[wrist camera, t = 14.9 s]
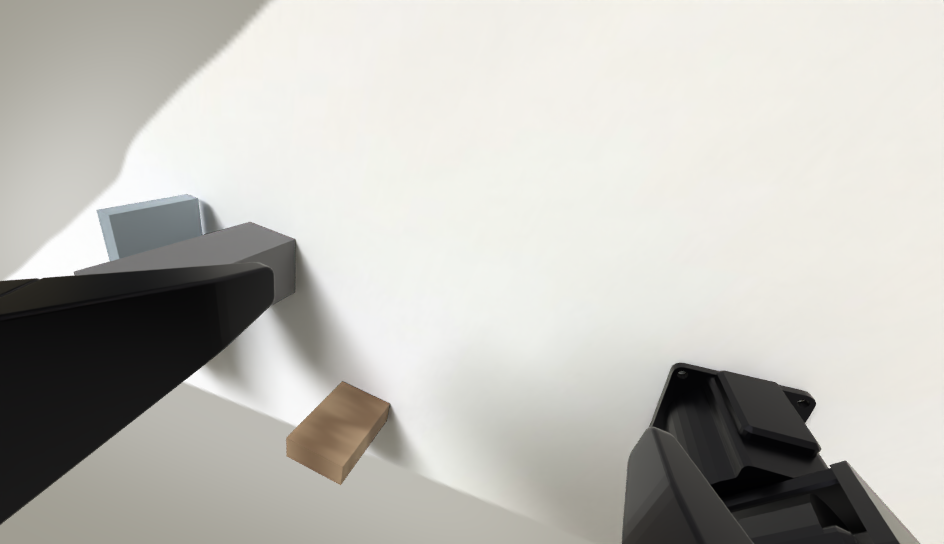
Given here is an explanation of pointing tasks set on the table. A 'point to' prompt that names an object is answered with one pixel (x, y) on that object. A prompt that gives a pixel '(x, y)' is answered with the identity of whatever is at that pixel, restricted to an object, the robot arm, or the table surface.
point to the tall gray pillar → (218, 255)
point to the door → (149, 225)
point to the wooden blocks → (337, 432)
